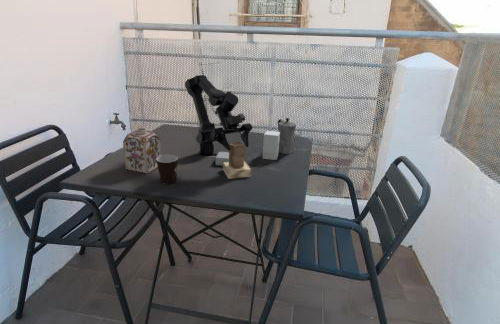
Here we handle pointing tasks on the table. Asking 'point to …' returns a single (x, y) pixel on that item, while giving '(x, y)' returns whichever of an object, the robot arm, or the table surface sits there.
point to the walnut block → (236, 155)
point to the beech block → (236, 171)
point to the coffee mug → (167, 168)
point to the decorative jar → (141, 150)
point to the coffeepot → (286, 136)
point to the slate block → (222, 158)
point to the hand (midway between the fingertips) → (238, 148)
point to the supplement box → (271, 145)
